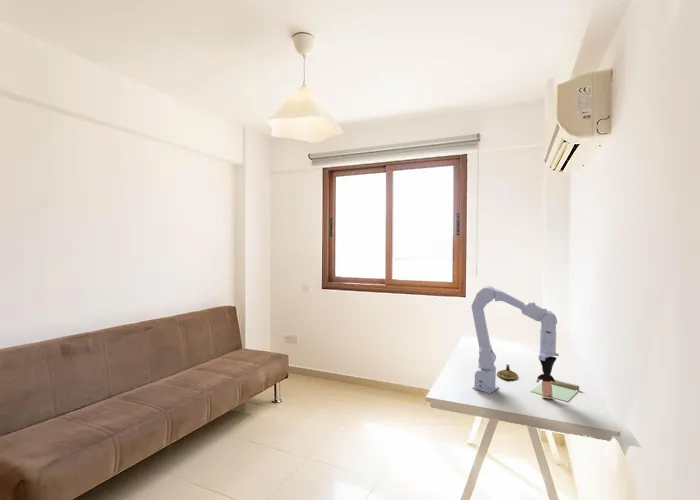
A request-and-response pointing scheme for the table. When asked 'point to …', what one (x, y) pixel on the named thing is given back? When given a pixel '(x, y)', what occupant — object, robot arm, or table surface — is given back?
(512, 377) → the seal
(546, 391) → the grandmother figurine
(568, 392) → the felt mat
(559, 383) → the beech stop strip
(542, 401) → the table surface
